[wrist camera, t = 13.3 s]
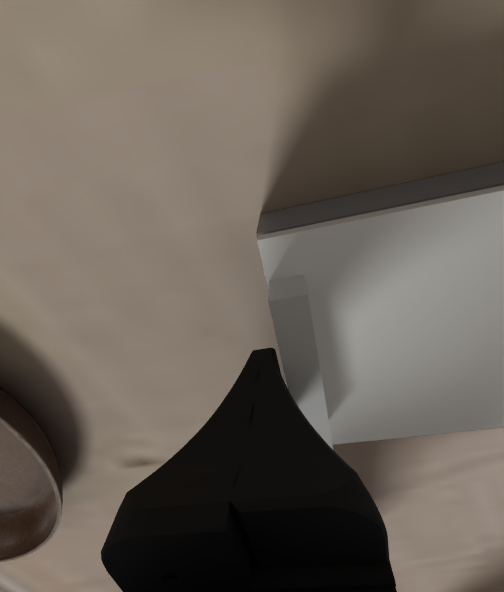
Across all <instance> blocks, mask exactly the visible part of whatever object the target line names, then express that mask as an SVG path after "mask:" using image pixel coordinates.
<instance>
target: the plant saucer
mask: <svg viewBox="0 0 504 592" xmlns="http://www.w3.org/2000/svg"><path fill="white" fill-rule="evenodd" d="M62 502H63V498H62V481H61V475H60V470H59V466H58V463H57V460H56V458H55V455H54V453H53V450H52V448H51V446H50V444H49V442H48V440H47V438H46V436H45V435H44V433H43V432H42V430H41V429H40V427H39V426H38V425H37V423H36V422H35V421H34V420H33V418H32V417H31V416H30V415H29V414H28V413H27V412H26V411H25V410H24V409H23V408H22V407H21V406H20V405H19V404H18V403H17V402H16V401H15V400H13V399H12V398H11V397H10V396H8V395H7V394H6V393H5V392H3V391H2V390H1V389H0V562H5V561H10V560H14V559H18V558H21V557H24V556H27V555H28V554H30V553H33V552H35V551H36V550H38V549H40V548H41V547H42V546H44V545H45V544H46V543H47V542H48V541H49V540H50V539H51V538H52V537H53V535H54V534H55V532H56V530H57V529H58V526H59V523H60V519H61V513H62Z"/></svg>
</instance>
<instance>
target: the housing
mask: <svg viewBox="0 0 504 592" xmlns="http://www.w3.org/2000/svg"><path fill="white" fill-rule="evenodd" d="M502 185H504V162H499V163H495V164H490V165H485V166H481V167H476V168H472V169H467V170H462V171H458V172H453V173H448V174H444V175H439V176H434V177H430V178H425V179H421V180H416V181H411V182H407V183H402V184H397V185H393V186H388V187H384V188H379V189H374V190H370V191H365V192H360V193H356V194H351V195H346V196H342V197H337V198H333V199H328V200H323V201H319V202H314V203H309V204H305V205H300V206H296V207H291V208H286V209H282V210H277V211H272V212H268V213H263V214H260V218H259V223H258V228H257V239H258V236H259V235H264V234H269V233H273V232H278V231H283V230H288V229H293V228H298V227H303V226H308V225H312V224H317V223H322V222H327V221H332V220H337V219H342V218H346V217H351V216H356V215H361V214H366V213H371V212H376V211H380V210H385V209H390V208H395V207H400V206H405V205H410V204H414V203H419V202H424V201H429V200H434V199H439V198H444V197H449V196H453V195H458V194H463V193H468V192H473V191H478V190H483V189H487V188H492V187H497V186H502Z"/></svg>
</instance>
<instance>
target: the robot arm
mask: <svg viewBox="0 0 504 592" xmlns="http://www.w3.org/2000/svg"><path fill="white" fill-rule="evenodd" d="M101 559H102V562H103V565H104V566H105V568H106V570H107V572H108V573H109V574H110V576H111V577H112V578H113V579H114V581H115V582H116V583H117V585H118V586H119V587H120V588H121V590H122V591H123V592H397V591H396V588H395V587H396V584H395V579H394V575H393V572H392V568H391V564H390V561H389V549H388V536H387V531H386V527H385V525H384V522H383V519H382V517H381V515H380V513H379V511H378V509H377V507H376V505H375V503H374V501H373V499H372V497H371V496H370V494H369V492H368V491H367V489H366V487H365V486H364V484H363V482H362V481H361V479H360V478H359V476H358V474H357V473H356V472H355V471H354V470H353V469H352V468H351V467H350V466H349V465H348V464H347V463H346V462H345V461H344V460H343V459H342V458H340V457H339V456H338V455H337V454H336V453H335V451H334V450H333V449H332V448H331V447H330V446H329V445H328V444H327V443H326V442H325V441H324V439H323V438H322V437H321V436H320V435H319V434H318V432H317V431H316V430H315V429H314V428H313V426H312V425H311V424H310V423H309V421H308V420H307V418H306V417H305V416H304V414H303V413H302V411H301V410H300V408H299V407H298V405H297V404H296V402H295V401H294V399H293V397H292V396H291V394H290V392H289V390H288V388H287V386H286V384H285V382H284V380H283V378H282V376H281V373H280V368H279V364H278V360H277V355H276V351H275V349H273V348H266V349H260V350H253V352H252V353H251V355H250V357H249V359H248V361H247V362H246V364H245V366H244V368H243V370H242V372H241V374H240V375H239V377H238V379H237V380H236V382H235V384H234V385H233V387H232V389H231V390H230V392H229V393H228V394H227V396H226V397H225V399H224V400H223V402H222V403H221V405H220V406H219V407H218V409H217V410H216V411H215V413H214V414H213V415H212V417H211V418H210V419H209V420H208V421H207V423H206V424H205V425H204V426H203V427H202V428H201V429H200V430H199V431H198V432H197V434H196V435H195V436H194V437H193V438H192V439H191V440H190V441H189V442H188V443H187V444H186V445H185V446H184V447H183V448H182V449H181V450H179V451H178V452H177V453H176V454H175V455H174V456H173V457H172V458H171V459H169V460H168V461H167V462H166V463H165V464H164V465H162V466H161V467H160V468H159V469H158V470H156V471H155V472H154V473H152V474H151V475H150V476H148V477H147V478H146V479H145V480H143V481H142V482H141V483H139V484H138V485H137V486H135V487H134V488H133V489H131V490H130V491H128V492H127V493H126V495H125V497H124V499H123V501H122V503H121V505H120V507H119V510H118V512H117V514H116V517H115V519H114V522H113V524H112V527H111V529H110V531H109V534H108V536H107V539H106V541H105V543H104V546H103V548H102V551H101Z"/></svg>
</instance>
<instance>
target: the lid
mask: <svg viewBox="0 0 504 592" xmlns="http://www.w3.org/2000/svg"><path fill="white" fill-rule="evenodd" d="M257 242H258V246H259V251H260V255H261V260H262V264H263V269H264V273H265V278H266V282H267V287H268V291H269V306H270V310H271V315H272V319H273V324H274V328H275V332H276V337H277V341H278V346H279V350H280V355H281V359H282V363H283V368H284V372H285V377H286V381H287V386H288V390H289V392H290V394H291V396H292V397H293V399H294V401H295V402H296V404H297V405H298V407H299V408H300V410H301V411H302V413H303V414H304V416H305V417H306V418H307V420H308V421H309V423H310V424H311V425H312V426H313V428H314V429H315V430H316V431H317V432H318V434H319V435H320V436H321V437H322V438H323V439H324V441H325V442H326V443H327V444H328V445H329V446H330V447H331V448H332V449H333V445H336V444H346V443H355V442H365V441H375V440H385V439H395V438H405V437H415V436H425V435H435V434H445V433H455V432H465V431H474V430H484V429H494V428H504V185H502V186H497V187H492V188H487V189H483V190H478V191H473V192H468V193H463V194H458V195H453V196H449V197H444V198H439V199H434V200H429V201H424V202H419V203H414V204H410V205H405V206H400V207H395V208H390V209H385V210H380V211H376V212H371V213H366V214H361V215H356V216H351V217H346V218H342V219H337V220H332V221H327V222H322V223H317V224H312V225H308V226H303V227H298V228H293V229H288V230H283V231H278V232H273V233H269V234H264V235H259V236H258V239H257ZM333 450H334V449H333Z"/></svg>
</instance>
